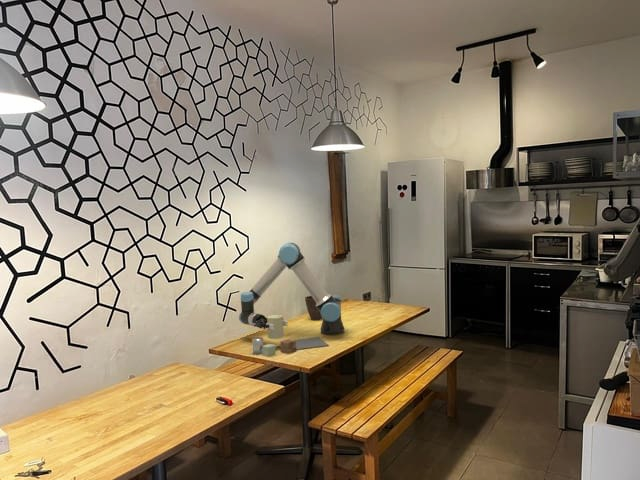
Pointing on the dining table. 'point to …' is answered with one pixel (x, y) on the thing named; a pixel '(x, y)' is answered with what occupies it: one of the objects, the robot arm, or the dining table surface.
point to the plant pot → (312, 308)
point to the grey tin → (257, 345)
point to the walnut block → (288, 346)
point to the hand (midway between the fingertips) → (280, 325)
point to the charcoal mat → (310, 343)
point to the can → (275, 326)
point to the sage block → (268, 350)
